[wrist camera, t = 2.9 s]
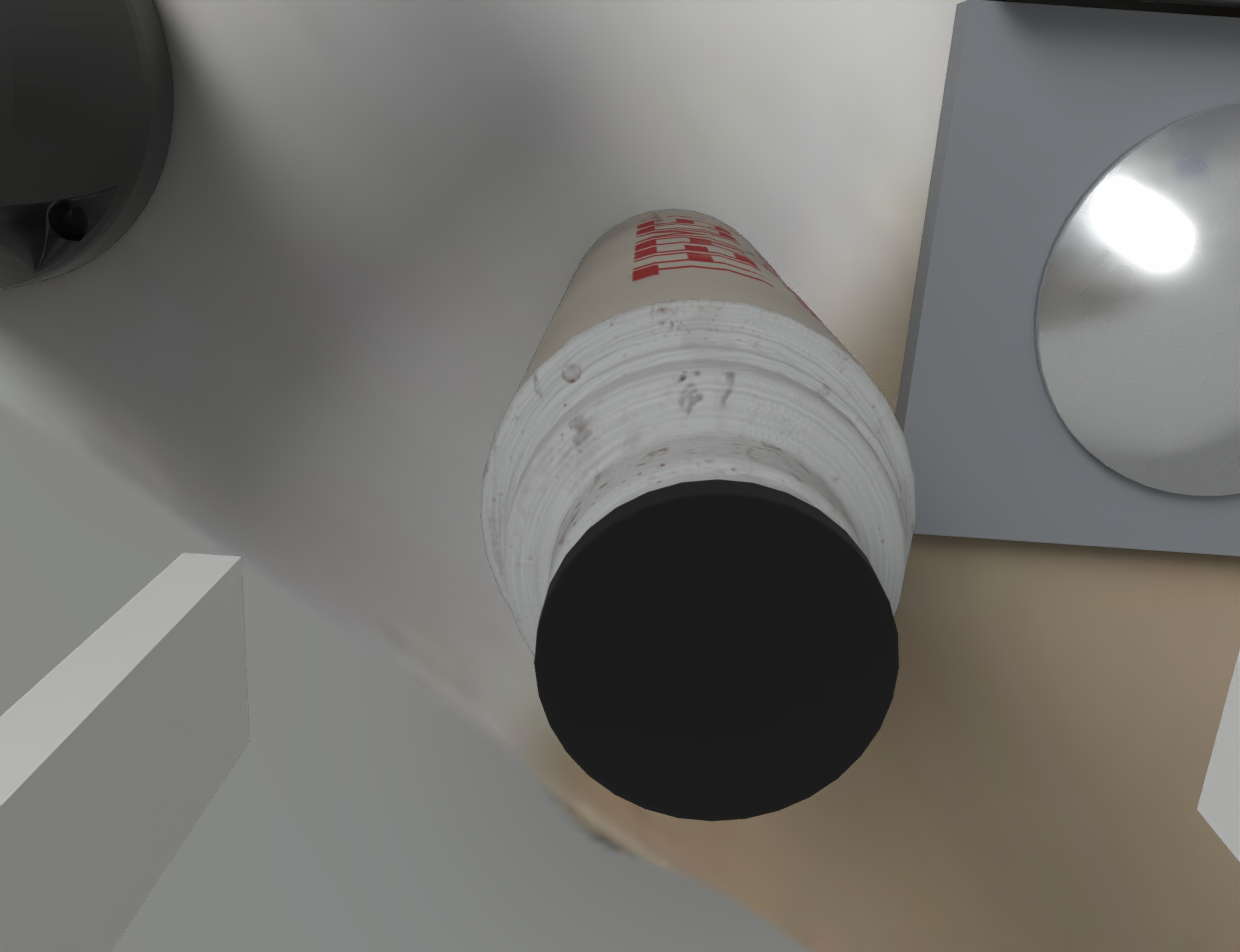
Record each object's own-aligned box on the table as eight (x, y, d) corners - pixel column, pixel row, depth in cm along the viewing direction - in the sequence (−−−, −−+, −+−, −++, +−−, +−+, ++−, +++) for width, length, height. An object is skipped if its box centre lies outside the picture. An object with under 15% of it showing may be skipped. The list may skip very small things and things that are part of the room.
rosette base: (880, 518, 43) (899, 550, 40) (957, 4, 37) (987, -9, 34) (1428, 556, 43) (1494, 592, 40) (1592, 48, 37) (1685, 39, 34)
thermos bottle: (613, 174, 39) (543, 268, 13) (811, 259, 40) (1141, 517, 13) (535, 372, 42) (337, 805, 15) (724, 448, 42) (856, 990, 16)
